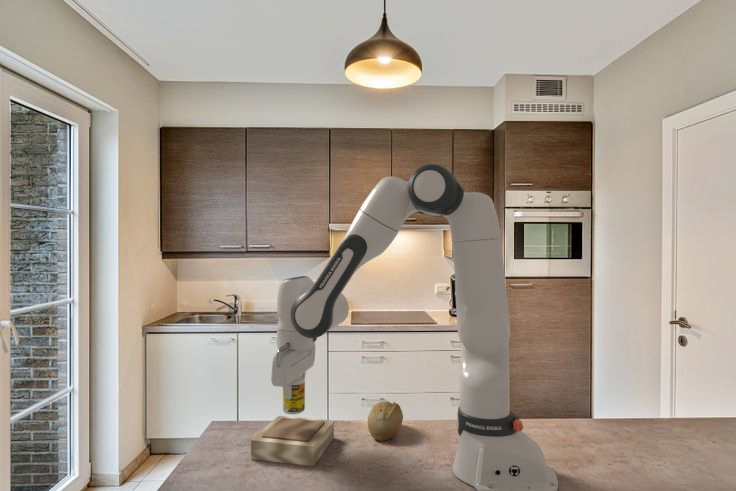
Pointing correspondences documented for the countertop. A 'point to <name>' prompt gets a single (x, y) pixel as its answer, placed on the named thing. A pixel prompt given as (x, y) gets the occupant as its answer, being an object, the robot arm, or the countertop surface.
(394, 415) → the bread roll
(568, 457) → the countertop surface
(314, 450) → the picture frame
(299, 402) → the supplement bottle
